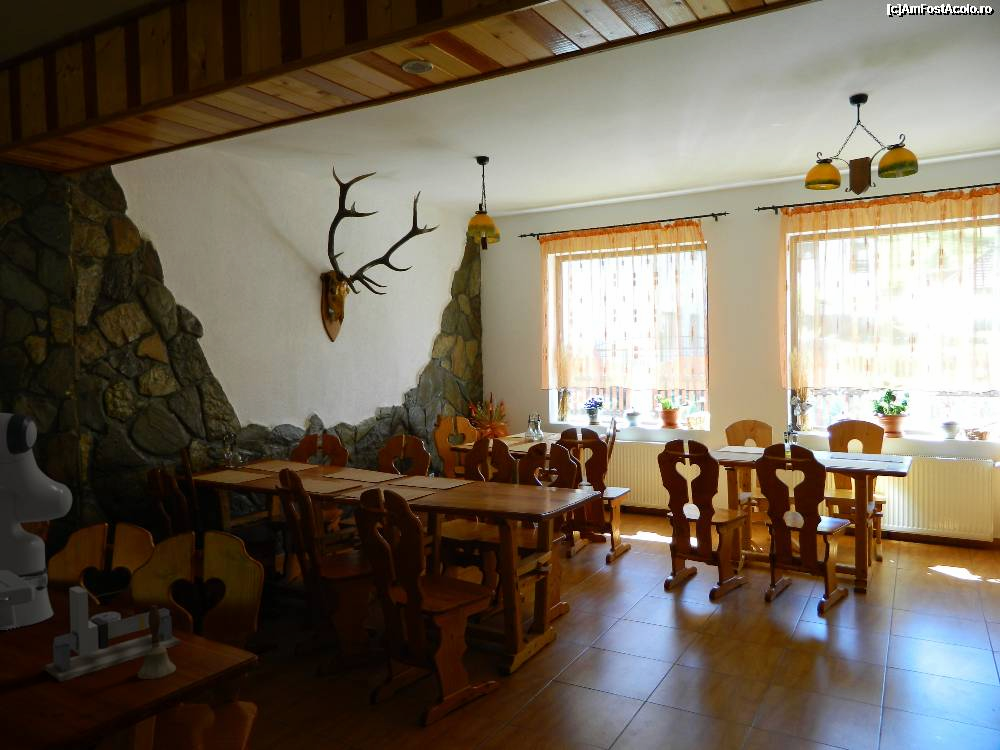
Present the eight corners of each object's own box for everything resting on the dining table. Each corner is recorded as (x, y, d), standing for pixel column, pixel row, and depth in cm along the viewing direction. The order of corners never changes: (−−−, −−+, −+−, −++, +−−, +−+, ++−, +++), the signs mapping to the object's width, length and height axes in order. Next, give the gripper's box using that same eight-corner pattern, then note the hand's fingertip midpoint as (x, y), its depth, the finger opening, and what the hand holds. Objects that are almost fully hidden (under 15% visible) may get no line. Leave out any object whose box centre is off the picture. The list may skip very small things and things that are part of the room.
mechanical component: (111, 639, 194) (133, 625, 203) (110, 622, 193) (133, 609, 203) (76, 638, 194) (100, 624, 204) (75, 622, 194) (99, 609, 204)
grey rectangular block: (80, 655, 173) (78, 593, 172) (71, 649, 177) (69, 588, 176) (98, 650, 176) (96, 589, 175) (89, 644, 180) (87, 584, 179)
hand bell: (146, 683, 167) (144, 614, 166) (131, 673, 172) (129, 606, 171) (182, 670, 173) (180, 604, 172) (166, 661, 178) (164, 597, 178)
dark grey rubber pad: (101, 649, 176) (100, 625, 176) (92, 643, 180) (91, 619, 180) (108, 647, 177) (107, 623, 177) (99, 641, 181) (98, 617, 181)
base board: (60, 681, 168) (60, 676, 168) (45, 670, 174) (45, 665, 174) (180, 644, 189) (180, 640, 189) (163, 635, 195) (163, 630, 195)
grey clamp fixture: (61, 672, 170) (60, 641, 170) (53, 666, 173) (52, 635, 173) (171, 638, 190) (171, 610, 189) (163, 634, 193) (162, 606, 193)
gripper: (-15, 589, 152) (59, 574, 162) (-40, 572, 166) (30, 559, 176) (-14, 619, 152) (60, 602, 162) (-39, 599, 166) (30, 585, 176)
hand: (44, 579), depth 169 cm, fingers closed
